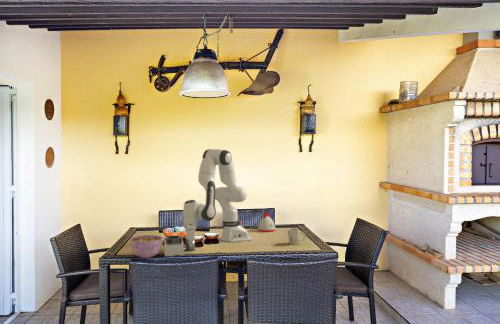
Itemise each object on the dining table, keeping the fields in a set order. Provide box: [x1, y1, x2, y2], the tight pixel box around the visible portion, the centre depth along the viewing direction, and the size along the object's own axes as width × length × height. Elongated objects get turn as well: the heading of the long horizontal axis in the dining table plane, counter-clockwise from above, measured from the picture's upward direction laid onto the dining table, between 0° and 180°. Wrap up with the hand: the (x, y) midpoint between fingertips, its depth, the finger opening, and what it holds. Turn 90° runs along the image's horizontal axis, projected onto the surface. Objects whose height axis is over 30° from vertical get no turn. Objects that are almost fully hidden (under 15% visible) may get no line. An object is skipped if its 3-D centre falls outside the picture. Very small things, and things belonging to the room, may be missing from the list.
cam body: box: [163, 235, 185, 257], centre depth 276 cm, size 12×18×10 cm
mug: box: [287, 227, 307, 245], centre depth 299 cm, size 8×13×10 cm, turn 91°
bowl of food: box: [130, 234, 164, 259], centre depth 266 cm, size 20×20×12 cm
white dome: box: [257, 211, 276, 233], centre depth 345 cm, size 14×14×15 cm
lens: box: [185, 235, 196, 252], centre depth 282 cm, size 6×6×9 cm
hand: (190, 245), depth 282 cm, fingers closed on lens, 6 cm apart
